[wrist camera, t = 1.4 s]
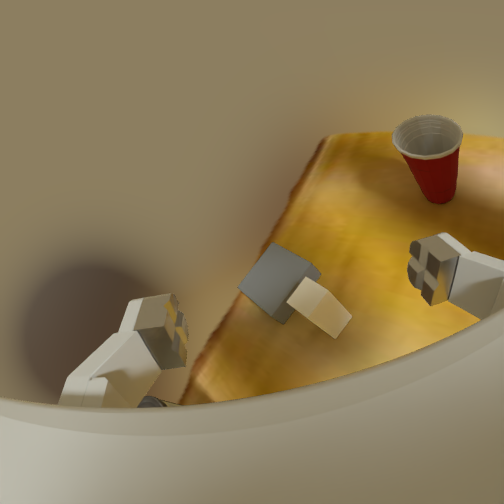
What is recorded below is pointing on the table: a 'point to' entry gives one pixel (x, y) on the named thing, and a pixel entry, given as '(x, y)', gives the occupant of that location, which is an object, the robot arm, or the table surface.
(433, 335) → the table surface
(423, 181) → the plastic cup
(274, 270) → the gray square block
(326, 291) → the cream block
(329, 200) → the table surface
